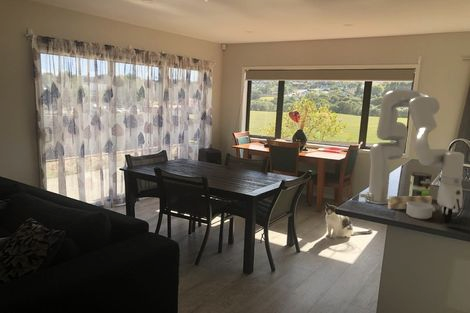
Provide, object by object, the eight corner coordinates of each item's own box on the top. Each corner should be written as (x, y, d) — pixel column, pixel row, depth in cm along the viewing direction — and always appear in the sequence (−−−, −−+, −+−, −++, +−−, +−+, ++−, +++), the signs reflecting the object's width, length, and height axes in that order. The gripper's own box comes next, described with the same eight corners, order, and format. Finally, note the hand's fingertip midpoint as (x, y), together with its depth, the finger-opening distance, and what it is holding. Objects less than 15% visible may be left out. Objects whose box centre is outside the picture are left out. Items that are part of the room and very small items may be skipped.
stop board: (389, 209, 182) (390, 197, 182) (387, 207, 184) (388, 196, 184) (430, 208, 185) (432, 197, 184) (428, 207, 187) (429, 196, 186)
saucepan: (454, 225, 160) (456, 212, 160) (404, 217, 169) (405, 205, 169) (452, 218, 171) (454, 206, 170) (405, 211, 179) (406, 200, 179)
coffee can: (433, 200, 201) (436, 175, 199) (417, 201, 198) (420, 176, 196) (419, 196, 211) (422, 171, 209) (404, 196, 208) (406, 172, 206)
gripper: (472, 184, 149) (467, 228, 152) (447, 177, 163) (442, 217, 166) (455, 184, 148) (450, 228, 151) (431, 177, 163) (427, 217, 165)
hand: (446, 222), depth 158 cm, fingers closed
